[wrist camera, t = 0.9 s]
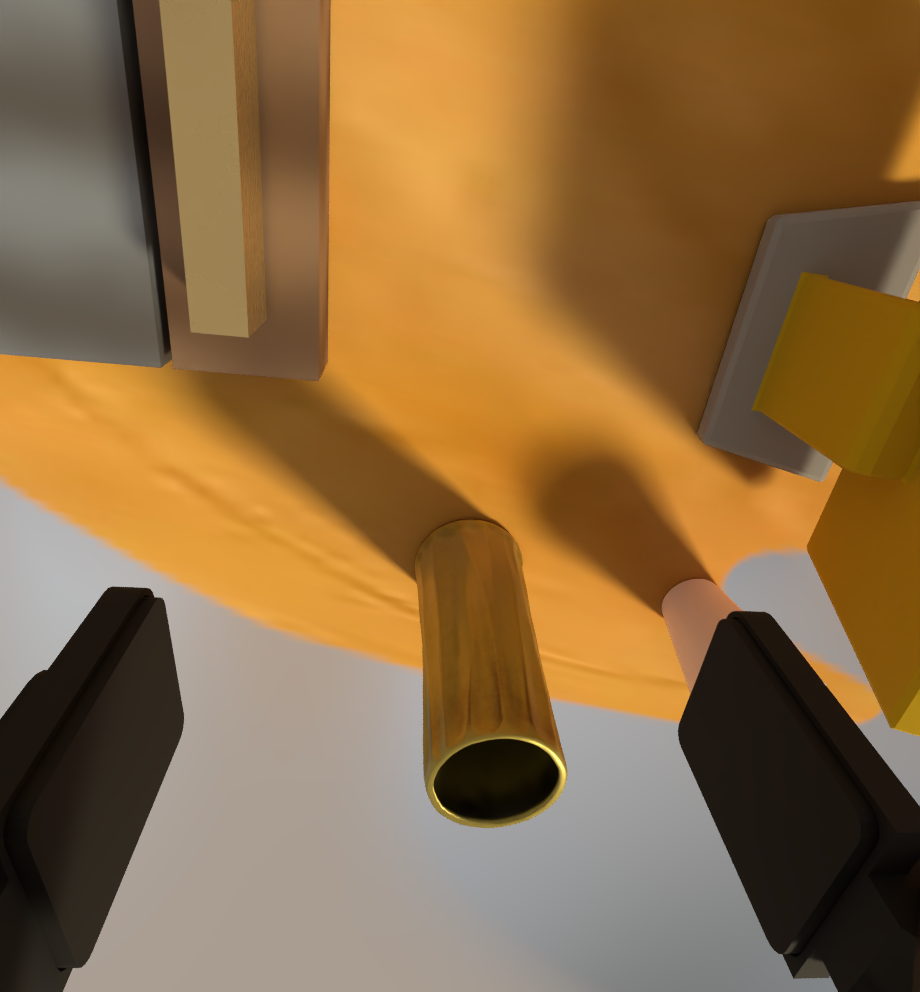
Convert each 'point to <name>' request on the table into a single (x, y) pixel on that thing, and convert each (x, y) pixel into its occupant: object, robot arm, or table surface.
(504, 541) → the vase
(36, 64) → the door mockup
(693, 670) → the smoothie
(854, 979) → the robot arm
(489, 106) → the table surface
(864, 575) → the toy computer monitor
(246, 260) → the latch bar
